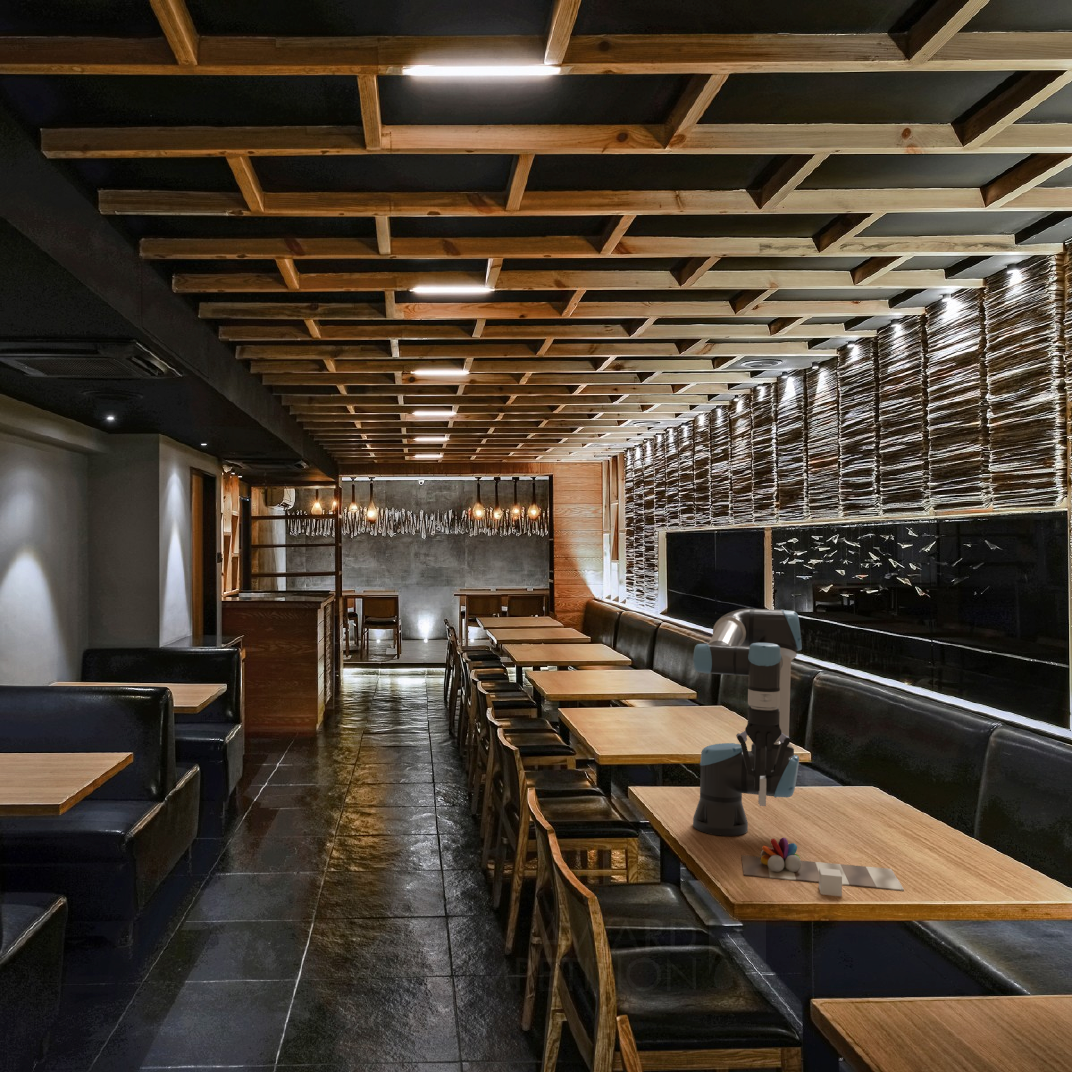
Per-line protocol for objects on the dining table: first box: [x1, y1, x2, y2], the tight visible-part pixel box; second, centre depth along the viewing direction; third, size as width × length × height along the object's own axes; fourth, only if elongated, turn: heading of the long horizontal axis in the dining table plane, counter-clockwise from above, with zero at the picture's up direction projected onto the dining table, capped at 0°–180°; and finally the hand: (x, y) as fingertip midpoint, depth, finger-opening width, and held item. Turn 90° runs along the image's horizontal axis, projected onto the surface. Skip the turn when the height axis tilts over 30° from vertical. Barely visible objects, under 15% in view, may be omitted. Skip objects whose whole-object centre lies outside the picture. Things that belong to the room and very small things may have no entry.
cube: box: [818, 868, 843, 897], centre depth 195 cm, size 4×4×4 cm
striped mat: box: [741, 854, 905, 892], centre depth 207 cm, size 36×14×1 cm, turn 79°
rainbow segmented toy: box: [760, 837, 802, 872], centre depth 209 cm, size 8×10×7 cm
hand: (762, 804), depth 207 cm, fingers closed
